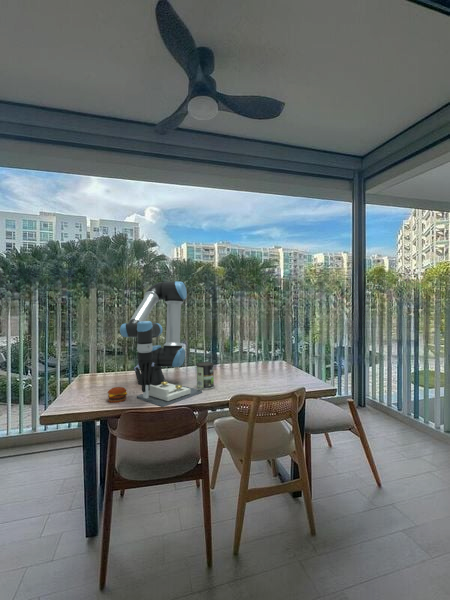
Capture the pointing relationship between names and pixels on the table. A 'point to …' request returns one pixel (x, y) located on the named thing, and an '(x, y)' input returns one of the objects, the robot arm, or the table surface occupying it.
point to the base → (165, 403)
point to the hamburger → (117, 394)
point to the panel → (167, 392)
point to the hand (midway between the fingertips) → (145, 397)
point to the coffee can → (205, 375)
